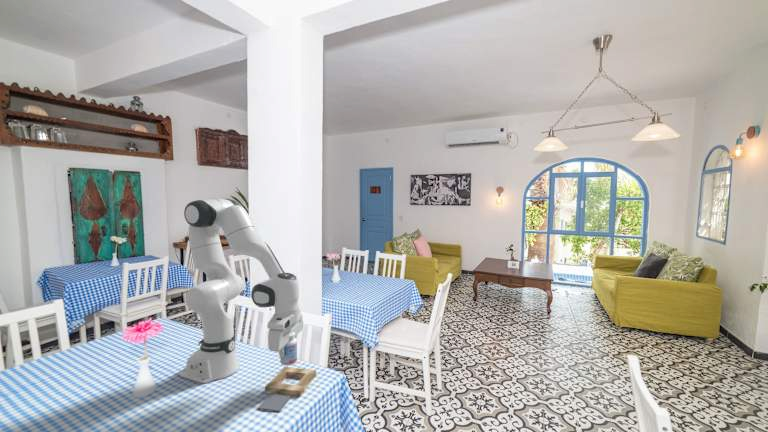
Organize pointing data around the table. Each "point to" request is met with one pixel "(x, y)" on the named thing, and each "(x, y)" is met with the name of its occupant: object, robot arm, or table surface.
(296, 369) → the holder
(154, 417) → the table surface
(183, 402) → the table surface
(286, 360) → the pill bottle
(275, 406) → the coaster
